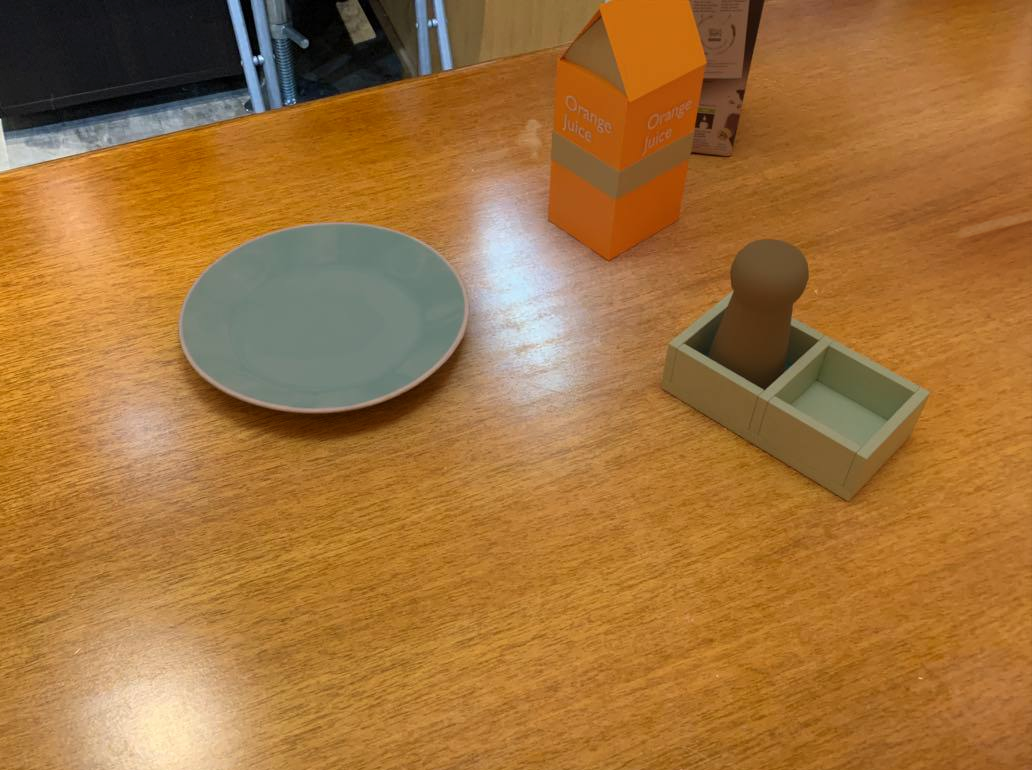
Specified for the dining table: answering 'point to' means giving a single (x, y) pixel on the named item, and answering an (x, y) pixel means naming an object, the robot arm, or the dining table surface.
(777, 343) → the brown pawn
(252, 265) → the plate
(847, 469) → the tray
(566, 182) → the orange juice
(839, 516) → the dining table surface
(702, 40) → the coffee box
